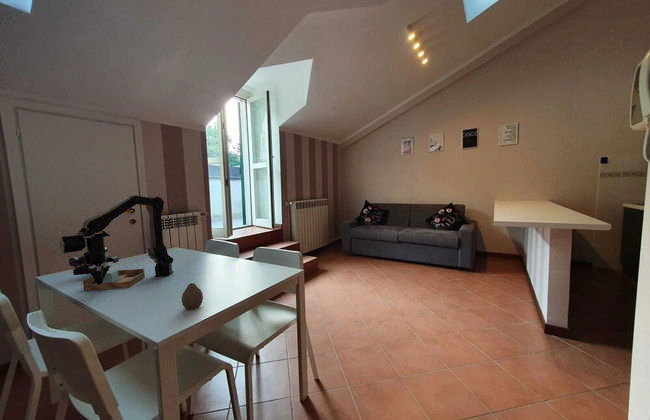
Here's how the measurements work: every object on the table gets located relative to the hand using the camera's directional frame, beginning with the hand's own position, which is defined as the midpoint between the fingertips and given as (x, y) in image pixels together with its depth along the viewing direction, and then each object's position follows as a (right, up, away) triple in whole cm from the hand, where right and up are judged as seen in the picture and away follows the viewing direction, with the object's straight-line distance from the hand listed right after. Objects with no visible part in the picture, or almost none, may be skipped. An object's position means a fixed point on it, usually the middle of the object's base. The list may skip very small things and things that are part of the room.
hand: (99, 284), depth 111 cm
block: (-1, 0, +7) cm, 7 cm away
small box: (-21, -2, +25) cm, 33 cm away
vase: (+48, -4, -16) cm, 51 cm away
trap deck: (-1, -3, +10) cm, 11 cm away
